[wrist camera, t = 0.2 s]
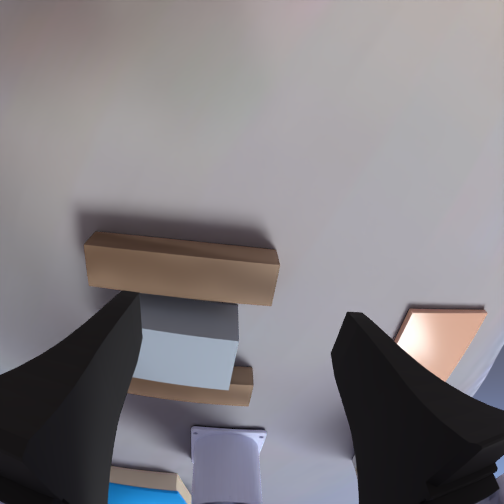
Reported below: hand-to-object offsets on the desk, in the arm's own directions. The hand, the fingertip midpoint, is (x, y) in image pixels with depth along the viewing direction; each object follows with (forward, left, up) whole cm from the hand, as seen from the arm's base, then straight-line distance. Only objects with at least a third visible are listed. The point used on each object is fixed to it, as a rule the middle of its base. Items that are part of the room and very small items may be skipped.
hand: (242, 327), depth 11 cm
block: (-9, +3, -10) cm, 14 cm away
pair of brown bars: (-9, +3, -10) cm, 14 cm away
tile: (-11, -20, -10) cm, 25 cm away
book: (-52, +11, -11) cm, 54 cm away
